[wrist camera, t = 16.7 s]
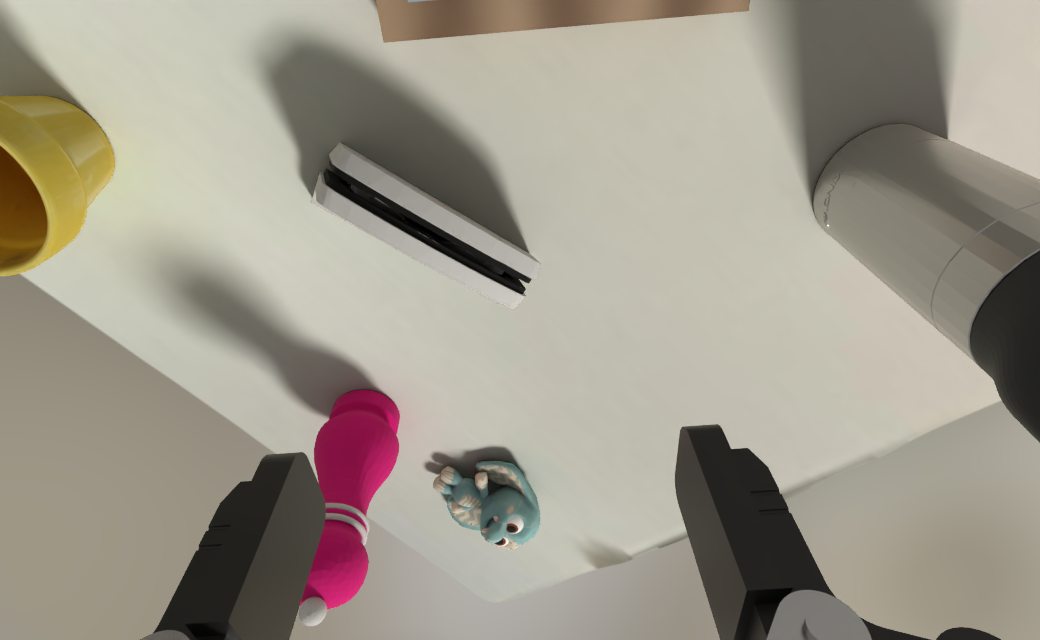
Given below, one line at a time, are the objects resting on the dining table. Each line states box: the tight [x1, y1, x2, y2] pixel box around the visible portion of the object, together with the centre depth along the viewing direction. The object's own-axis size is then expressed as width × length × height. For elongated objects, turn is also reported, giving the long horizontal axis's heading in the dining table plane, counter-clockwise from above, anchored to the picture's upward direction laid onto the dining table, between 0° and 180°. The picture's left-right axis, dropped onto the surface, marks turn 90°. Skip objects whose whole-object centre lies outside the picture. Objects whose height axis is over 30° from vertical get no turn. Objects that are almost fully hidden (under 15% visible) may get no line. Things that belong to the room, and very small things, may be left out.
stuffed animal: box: [433, 461, 540, 550], centre depth 58 cm, size 11×7×12 cm
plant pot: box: [0, 96, 115, 276], centre depth 35 cm, size 10×10×10 cm
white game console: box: [311, 142, 541, 309], centre depth 39 cm, size 17×5×10 cm, turn 56°
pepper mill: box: [299, 390, 400, 626], centre depth 45 cm, size 7×7×20 cm
